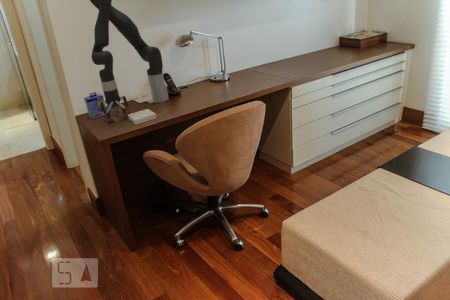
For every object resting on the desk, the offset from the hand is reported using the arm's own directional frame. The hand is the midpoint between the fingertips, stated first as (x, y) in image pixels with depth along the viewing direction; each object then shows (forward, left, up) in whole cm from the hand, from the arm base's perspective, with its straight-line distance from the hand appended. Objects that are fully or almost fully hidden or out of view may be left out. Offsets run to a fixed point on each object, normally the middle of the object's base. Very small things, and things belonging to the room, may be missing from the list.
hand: (117, 116), depth 201 cm
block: (0, 0, -2) cm, 2 cm away
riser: (-11, +9, -2) cm, 15 cm away
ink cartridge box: (+7, -17, -2) cm, 18 cm away
